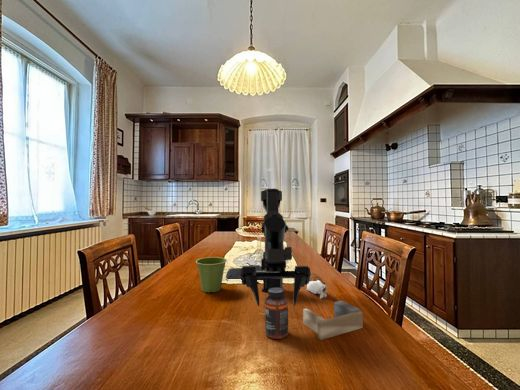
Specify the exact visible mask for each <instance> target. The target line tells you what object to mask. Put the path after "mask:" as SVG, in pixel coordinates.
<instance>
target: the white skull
mask: <svg viewBox="0 0 520 390" xmlns="http://www.w3.org/2000/svg"><path fill="white" fill-rule="evenodd" d="M327 290H328V286H327V284H324V283H323V282H322V283H321V281H320V280H317V281H310V282H309V284H306V289H305V291H309V292H311V293H312V294H315V295H316V294H318V295H319V299H320V300H322V299H324V298H327V293H326V292H327Z"/></svg>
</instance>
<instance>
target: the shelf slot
mask: <svg viewBox="0 0 520 390" xmlns="http://www.w3.org/2000/svg"><path fill="white" fill-rule="evenodd" d="M333 303H334V304H333V305H334V307H333V308H334V309H333V310H334V311H333V312H334V313H333V315H334V317H331V318H330V317H329V318H326V319H325V318H324V317H322V316H321V315H319V314H317V313H315V312H314V311H312V310H310V309H309V308H303V309H302V310H303V311H302V320H303V321H302V324H303V325H304V326H306V327H308V328H309V329H310V330H312V332H315V333H316V334H317V338H318V339H319V341H323V340H327V339H330V338H333V337H336V336H339V335H343V334H346V333H350V332H352V331H353V332H354V331H356V330H359V329H362V328H364V318H363V317H364V316H363V314H364V313H363V311H361V309H360V308H358V307H356V306H353V305H351V304H349V303H347V302H345V301H343V300H338V301H335V302H333Z"/></svg>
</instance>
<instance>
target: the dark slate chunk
mask: <svg viewBox="0 0 520 390" xmlns="http://www.w3.org/2000/svg"><path fill="white" fill-rule="evenodd" d="M249 266H256V271H261V265H254V264H250V265H249ZM241 268H242V267H237V268H235V267H233V268H232V267H231V268H229V269H228V270H227V271H226V274H225V279H226V278H227V279H241ZM227 279H226V280H227ZM257 280H263V278H257Z"/></svg>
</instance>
